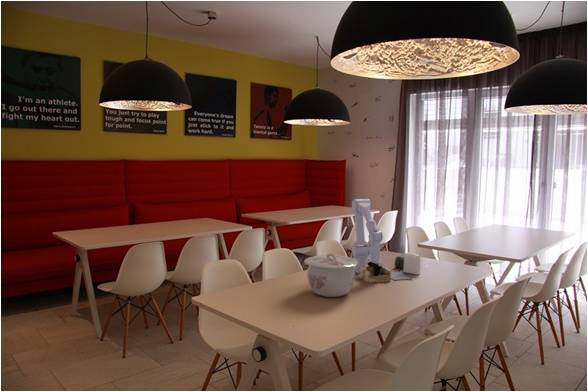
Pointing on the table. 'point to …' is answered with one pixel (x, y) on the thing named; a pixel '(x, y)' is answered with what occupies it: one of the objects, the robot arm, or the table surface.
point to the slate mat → (399, 276)
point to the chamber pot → (331, 274)
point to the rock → (400, 261)
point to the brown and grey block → (373, 271)
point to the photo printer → (412, 263)
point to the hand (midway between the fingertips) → (374, 275)
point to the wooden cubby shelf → (372, 279)
